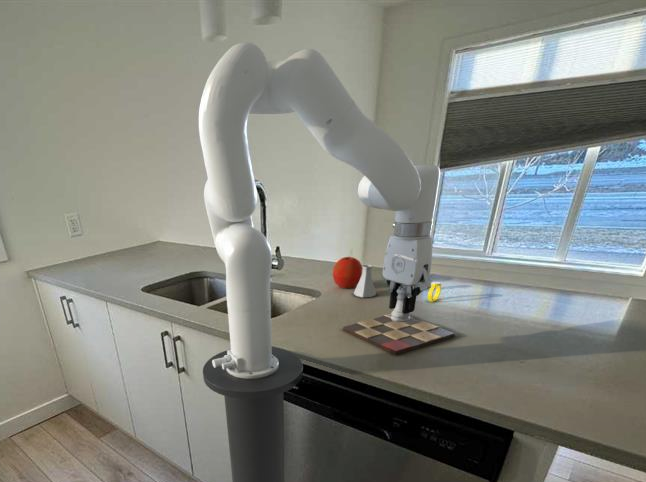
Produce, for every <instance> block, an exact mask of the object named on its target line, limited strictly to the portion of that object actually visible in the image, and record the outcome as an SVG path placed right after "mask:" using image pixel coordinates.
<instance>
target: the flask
mask: <svg viewBox="0 0 646 482" xmlns="http://www.w3.org/2000/svg"><path fill="white" fill-rule="evenodd" d="M373 267H374V265H372V264H364V265H362V275H361V278H360V281H359V283H358V284H357V285H356V286H355V289H354V291H353V294H354V296H355V297H360V298H371V297H374V296H377V291H376V288H375V285H374V281H373V278H372V269H373Z"/></svg>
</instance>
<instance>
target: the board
mask: <svg viewBox="0 0 646 482" xmlns="http://www.w3.org/2000/svg"><path fill="white" fill-rule="evenodd" d="M391 313H392V312H390V313H387V314H384V315H382V316H379V317H378V316H377V317H375V318H369V319H365V320H361V321H357V322H356V323H352V324H349V325H346V326H343V327H342V330H343V331H344V332H346V333H348V334H351V336H354V337H356V338H358V339H360V340H363V341H365V342H367V343H369V344H371V345H373V346H375V347H378V348H379V349H381V350H383V351H385V352H388V353H390V354H392V355H394V356H397V355H400V354H404V353H407V352H410V351H414V350H417V349H420V348H423V347H426V346H430V345H433V344H436V343H439V342H443V341H445V340H448V339H451V338H454V337H455V335H456V332H453V331H450V330H447V329H444V328H442V327H440V326H439V325H436V324H433V323H430V322H426V321H425V320H424V321H422V320H419V319H417V318H414V317H412V316H411V315H410V316H409V317H410V319H409V320H408V321H407V322H395V321H393V320H392V319H391V316H392V315H391Z"/></svg>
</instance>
